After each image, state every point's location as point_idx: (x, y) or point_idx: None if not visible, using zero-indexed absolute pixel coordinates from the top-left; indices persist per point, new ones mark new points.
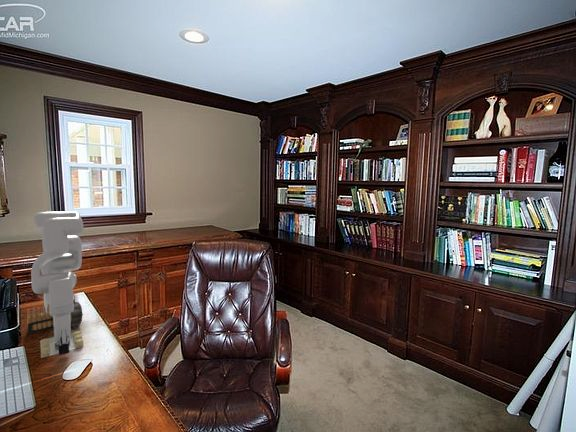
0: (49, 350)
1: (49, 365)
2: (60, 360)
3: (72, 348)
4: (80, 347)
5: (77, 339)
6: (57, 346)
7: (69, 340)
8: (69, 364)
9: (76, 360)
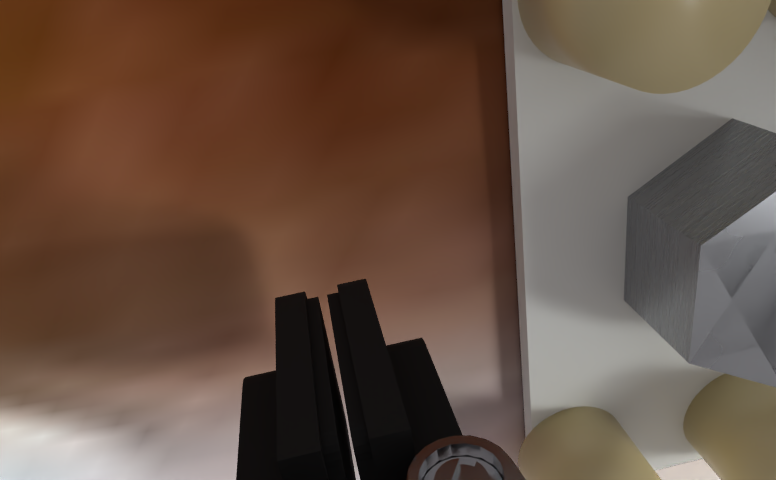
0: (600, 76)
1: (129, 108)
2: (257, 259)
3: (564, 377)
4: (521, 471)
5: (736, 465)
6: (711, 197)
7: (769, 383)
8: (43, 408)
9: (148, 470)
